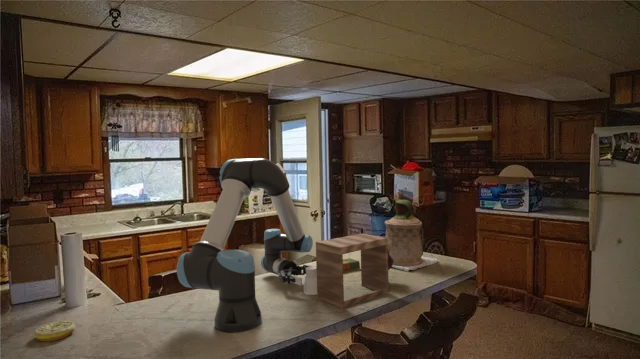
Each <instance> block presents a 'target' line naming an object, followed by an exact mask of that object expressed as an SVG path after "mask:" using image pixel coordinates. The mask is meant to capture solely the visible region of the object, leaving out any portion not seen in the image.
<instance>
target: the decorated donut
mask: <svg viewBox="0 0 640 359" xmlns="http://www.w3.org/2000/svg"><path fill="white" fill-rule="evenodd" d="M76 328H77V327H76V324H75V322H73V321H71V320H67V319H66V320H63V319H62V320H57V321H51V322H49V323H46V324H42V325H40V326H38V327H37V328H36V329H35V330H34V337H35V339H37V341H40V342H43V343H44V342H54V341H58V340H63V339H65V338H67V337H69V336H70V335H71V334H72V333H74V331H75V330H76Z"/></svg>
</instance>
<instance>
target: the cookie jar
mask: <svg viewBox="0 0 640 359" xmlns="http://www.w3.org/2000/svg"><path fill="white" fill-rule="evenodd" d="M394 202H395V203H394V207H393V208H394V210H395V213H396V214H395V216H393V217H392V218H390V219H388V220H387V219H386V220H385V221H384V225H385V236H384V237H385V238H388V251H389V255H390V256H391V258H392V259H393V265H392V267H391V268H395V269H396V270H401V271H404V272H407V273H408V272H409V271H410V270H411V271H415V270H417V269H421V268H425V267H427V266H428V267H429V266H431V265H434V264H437V263H438V262H439V259H438V258H435V257H429V256H428V257H427V256H425V255H424V256H423V254H424V249H423V248H424V241H423V239H424V228H423V222H422V221H421V220H420V219H419V218H417V217H416V216H415V214H414V212H416V211H417V204H415V203H412V201H410V200H408V199H399V198H395V197H394Z"/></svg>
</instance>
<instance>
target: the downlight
mask: <svg viewBox="0 0 640 359" xmlns="http://www.w3.org/2000/svg"><path fill="white" fill-rule="evenodd" d="M308 266H309V267H306V274H305V275H304V284H303V288H302V289H303V293H304V295H308V296H315V295H316V296H317V268H316V265H308Z"/></svg>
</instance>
